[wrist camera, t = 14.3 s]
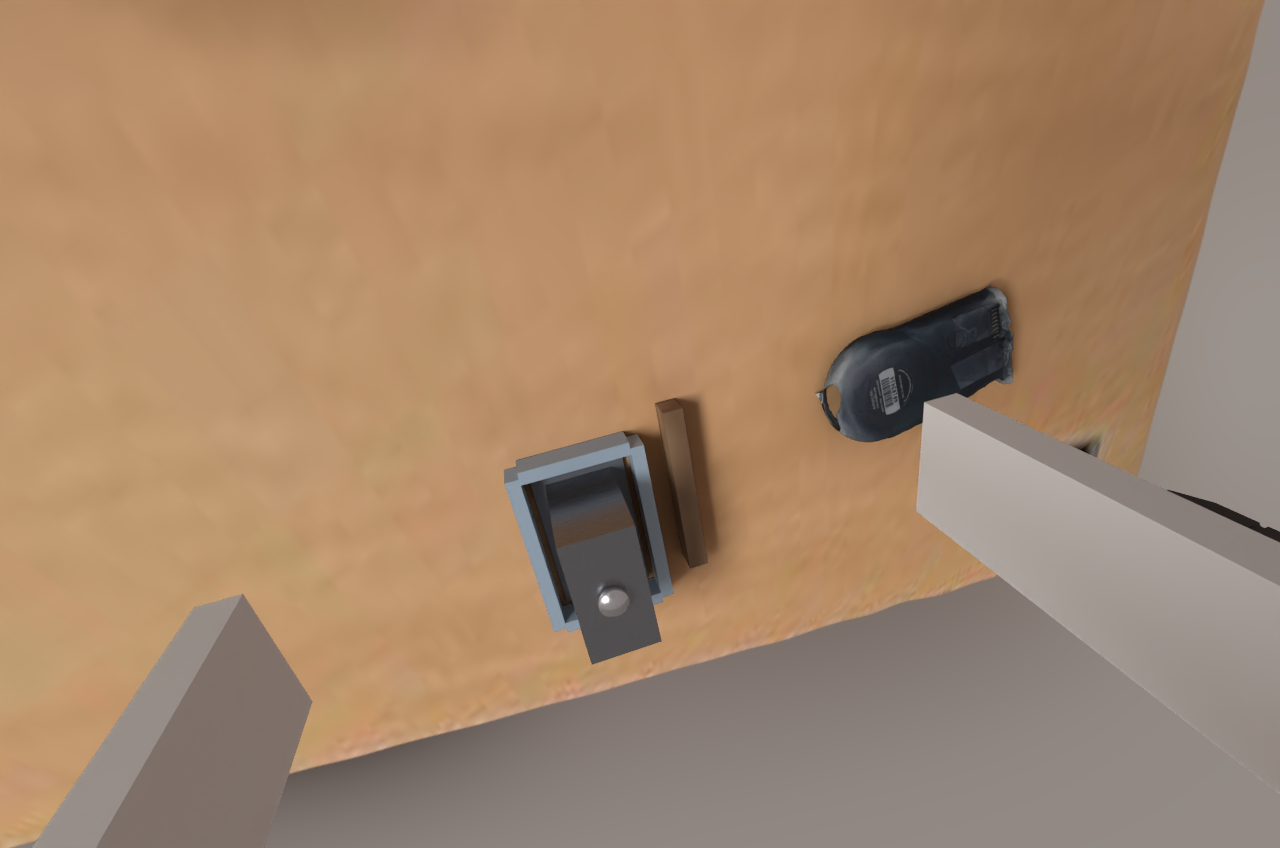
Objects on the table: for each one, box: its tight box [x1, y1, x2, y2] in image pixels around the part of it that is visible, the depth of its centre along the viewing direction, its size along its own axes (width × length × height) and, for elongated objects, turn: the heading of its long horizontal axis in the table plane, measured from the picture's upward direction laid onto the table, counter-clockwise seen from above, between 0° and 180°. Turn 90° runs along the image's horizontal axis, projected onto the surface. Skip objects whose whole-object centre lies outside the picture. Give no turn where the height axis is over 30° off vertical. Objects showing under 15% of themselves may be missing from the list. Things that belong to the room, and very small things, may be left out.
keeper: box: [504, 432, 674, 632], centre depth 42 cm, size 10×15×2 cm, turn 11°
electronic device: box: [816, 285, 1014, 442], centre depth 43 cm, size 9×6×15 cm
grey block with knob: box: [545, 467, 661, 664], centre depth 39 cm, size 10×5×9 cm, turn 11°
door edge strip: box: [655, 398, 708, 568], centre depth 43 cm, size 2×14×2 cm, turn 11°
